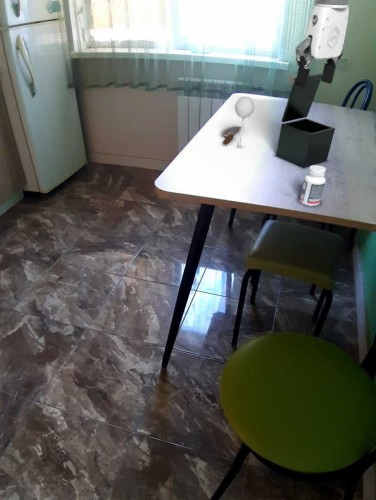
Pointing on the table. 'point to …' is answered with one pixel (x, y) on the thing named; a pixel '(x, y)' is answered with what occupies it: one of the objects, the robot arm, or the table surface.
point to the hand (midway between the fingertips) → (313, 84)
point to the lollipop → (244, 110)
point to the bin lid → (301, 98)
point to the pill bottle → (313, 186)
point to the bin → (304, 142)
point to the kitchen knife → (229, 134)
